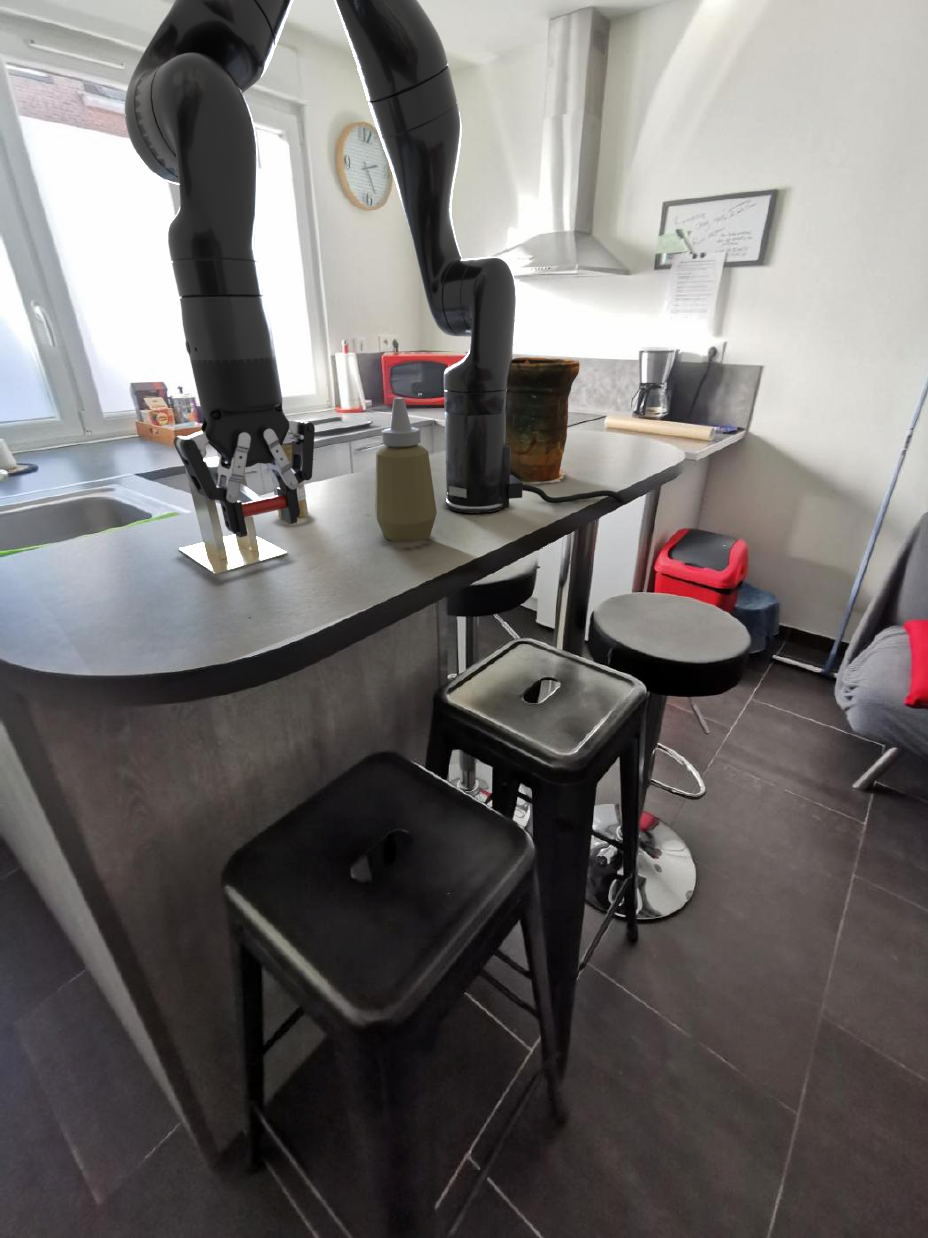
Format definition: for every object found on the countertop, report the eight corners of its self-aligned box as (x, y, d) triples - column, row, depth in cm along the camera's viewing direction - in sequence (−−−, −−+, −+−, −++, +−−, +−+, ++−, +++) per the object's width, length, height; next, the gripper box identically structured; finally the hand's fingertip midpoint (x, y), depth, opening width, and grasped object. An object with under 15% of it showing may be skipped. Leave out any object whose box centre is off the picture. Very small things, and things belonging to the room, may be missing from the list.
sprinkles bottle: (314, 522, 83) (301, 427, 77) (283, 528, 81) (267, 430, 75) (303, 514, 87) (290, 422, 80) (274, 519, 84) (257, 426, 78)
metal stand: (289, 562, 70) (271, 456, 64) (217, 583, 64) (190, 470, 58) (248, 540, 77) (229, 443, 71) (181, 558, 71) (153, 455, 65)
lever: (287, 514, 61) (286, 493, 60) (243, 524, 58) (240, 503, 57) (232, 473, 68) (229, 454, 67) (190, 481, 65) (186, 461, 64)
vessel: (584, 482, 101) (595, 360, 92) (509, 489, 98) (512, 363, 89) (552, 465, 113) (559, 355, 104) (484, 470, 110) (485, 358, 101)
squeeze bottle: (390, 555, 71) (378, 404, 63) (369, 536, 77) (355, 396, 69) (447, 544, 74) (443, 399, 66) (423, 527, 81) (416, 392, 72)
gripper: (167, 359, 46) (214, 555, 54) (321, 350, 54) (342, 520, 62) (137, 356, 50) (184, 537, 58) (283, 348, 59) (307, 507, 67)
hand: (266, 527), depth 60 cm, fingers closed on lever, 5 cm apart
